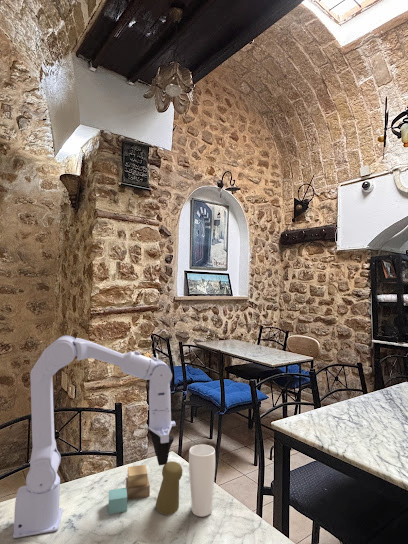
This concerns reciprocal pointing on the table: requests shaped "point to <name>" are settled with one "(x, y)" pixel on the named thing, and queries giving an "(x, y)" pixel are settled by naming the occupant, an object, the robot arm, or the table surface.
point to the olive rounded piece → (169, 489)
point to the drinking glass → (202, 478)
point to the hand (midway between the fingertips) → (161, 459)
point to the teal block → (117, 500)
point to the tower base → (138, 490)
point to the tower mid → (137, 476)
